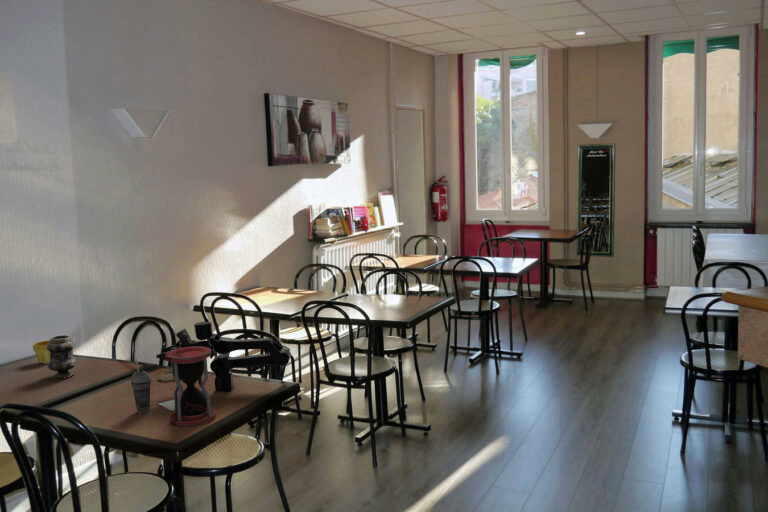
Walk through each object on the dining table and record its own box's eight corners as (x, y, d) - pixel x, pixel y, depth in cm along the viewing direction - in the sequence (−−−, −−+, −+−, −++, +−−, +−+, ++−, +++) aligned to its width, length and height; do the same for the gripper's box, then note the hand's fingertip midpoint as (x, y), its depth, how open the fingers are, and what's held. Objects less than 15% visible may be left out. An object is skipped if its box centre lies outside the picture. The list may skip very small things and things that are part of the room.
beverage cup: (147, 414, 266) (142, 362, 263) (129, 413, 268) (125, 361, 265) (157, 407, 273) (153, 357, 271) (139, 407, 275) (135, 356, 272)
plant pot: (29, 365, 342) (27, 345, 341) (43, 359, 352) (41, 340, 351) (49, 365, 340) (47, 345, 339) (62, 359, 351) (60, 340, 349)
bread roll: (175, 372, 320) (174, 362, 319) (190, 380, 313) (190, 369, 312) (153, 380, 312) (153, 369, 310) (168, 387, 305) (168, 376, 304)
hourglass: (189, 409, 270) (184, 344, 267) (224, 413, 264) (220, 347, 261) (160, 424, 255) (155, 356, 252) (197, 429, 249) (192, 359, 246)
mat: (184, 397, 285) (184, 396, 285) (197, 403, 276) (197, 402, 276) (158, 404, 277) (158, 403, 277) (171, 410, 269) (171, 410, 269)
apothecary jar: (83, 374, 324) (79, 335, 321) (59, 381, 314) (55, 341, 311) (67, 370, 330) (63, 332, 328) (43, 377, 320) (39, 338, 318)
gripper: (199, 324, 299) (162, 328, 298) (189, 334, 280) (149, 339, 280) (203, 349, 300) (166, 354, 300) (194, 362, 282) (154, 367, 281)
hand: (159, 353), depth 290 cm, fingers open, 9 cm apart
